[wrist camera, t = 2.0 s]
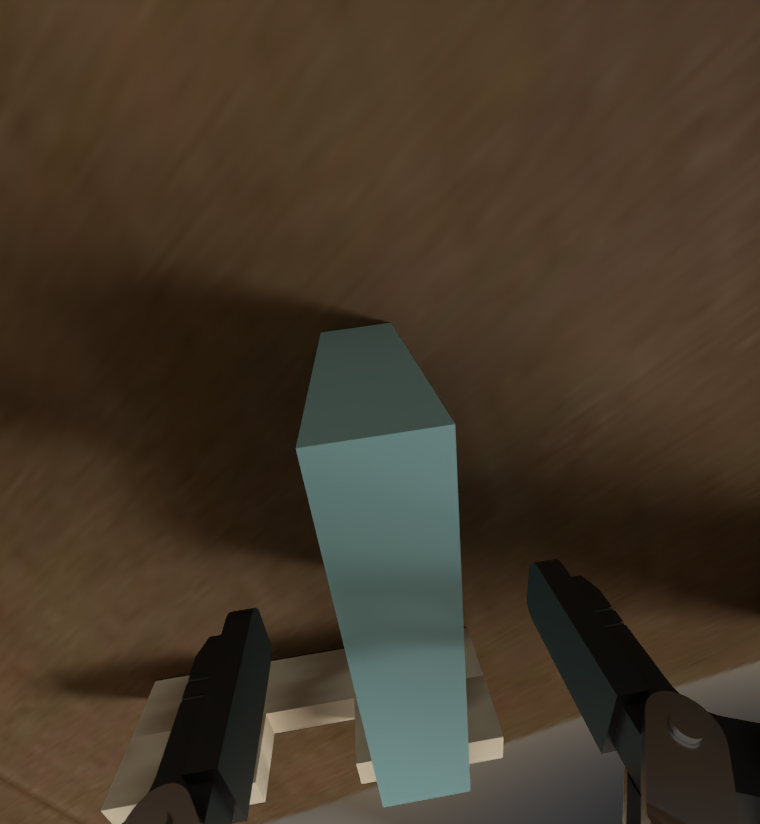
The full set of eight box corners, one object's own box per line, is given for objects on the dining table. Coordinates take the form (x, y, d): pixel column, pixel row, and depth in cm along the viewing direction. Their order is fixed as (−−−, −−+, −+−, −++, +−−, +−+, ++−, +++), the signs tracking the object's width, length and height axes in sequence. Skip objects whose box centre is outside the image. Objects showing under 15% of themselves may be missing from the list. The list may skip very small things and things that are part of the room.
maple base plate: (467, 627, 25) (503, 736, 19) (468, 647, 25) (502, 757, 20) (155, 681, 24) (100, 811, 18) (166, 699, 25) (117, 829, 19)
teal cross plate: (320, 332, 16) (295, 448, 7) (390, 322, 16) (455, 424, 7) (365, 573, 22) (382, 807, 13) (416, 564, 22) (470, 790, 13)
